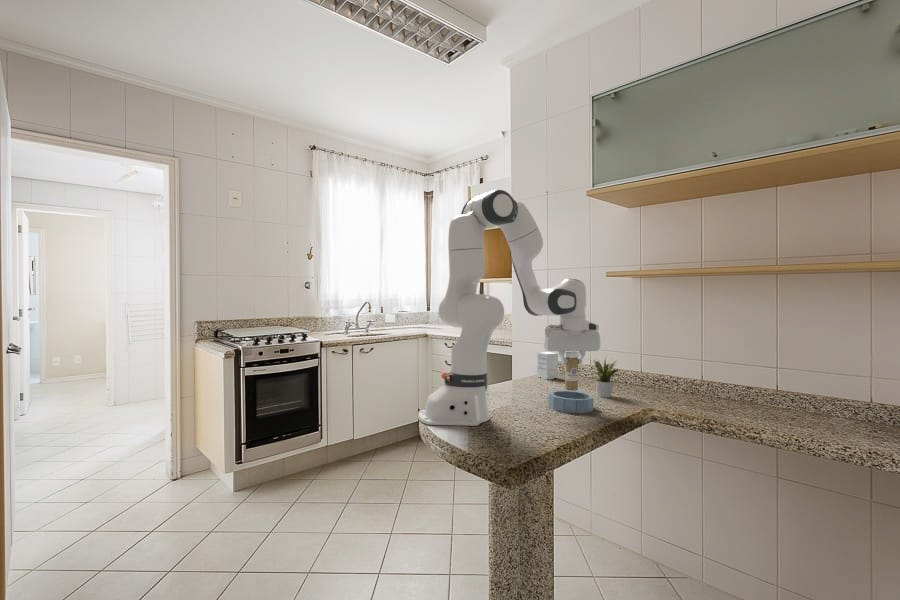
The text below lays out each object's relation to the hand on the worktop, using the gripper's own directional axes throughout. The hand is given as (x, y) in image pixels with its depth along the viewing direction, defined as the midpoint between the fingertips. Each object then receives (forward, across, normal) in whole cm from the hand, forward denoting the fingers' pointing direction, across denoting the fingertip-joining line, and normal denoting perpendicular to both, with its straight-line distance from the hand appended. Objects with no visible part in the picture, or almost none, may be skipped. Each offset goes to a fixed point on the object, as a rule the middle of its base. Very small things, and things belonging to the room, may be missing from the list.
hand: (571, 363), depth 149 cm
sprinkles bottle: (+9, 0, 0) cm, 9 cm away
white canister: (+16, +18, +57) cm, 62 cm away
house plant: (+16, +22, +16) cm, 31 cm away
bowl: (+16, 0, 0) cm, 16 cm away
